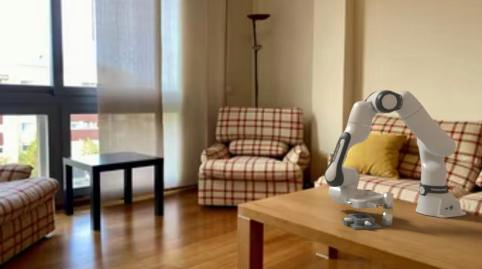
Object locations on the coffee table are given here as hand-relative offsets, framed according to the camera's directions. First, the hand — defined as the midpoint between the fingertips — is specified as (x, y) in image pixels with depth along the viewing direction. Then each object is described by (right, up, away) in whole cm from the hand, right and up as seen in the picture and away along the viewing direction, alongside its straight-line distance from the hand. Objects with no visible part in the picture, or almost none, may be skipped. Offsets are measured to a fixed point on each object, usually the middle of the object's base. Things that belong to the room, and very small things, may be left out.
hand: (383, 205), depth 182 cm
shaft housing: (-10, -8, -1) cm, 13 cm away
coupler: (+1, -9, -1) cm, 9 cm away
